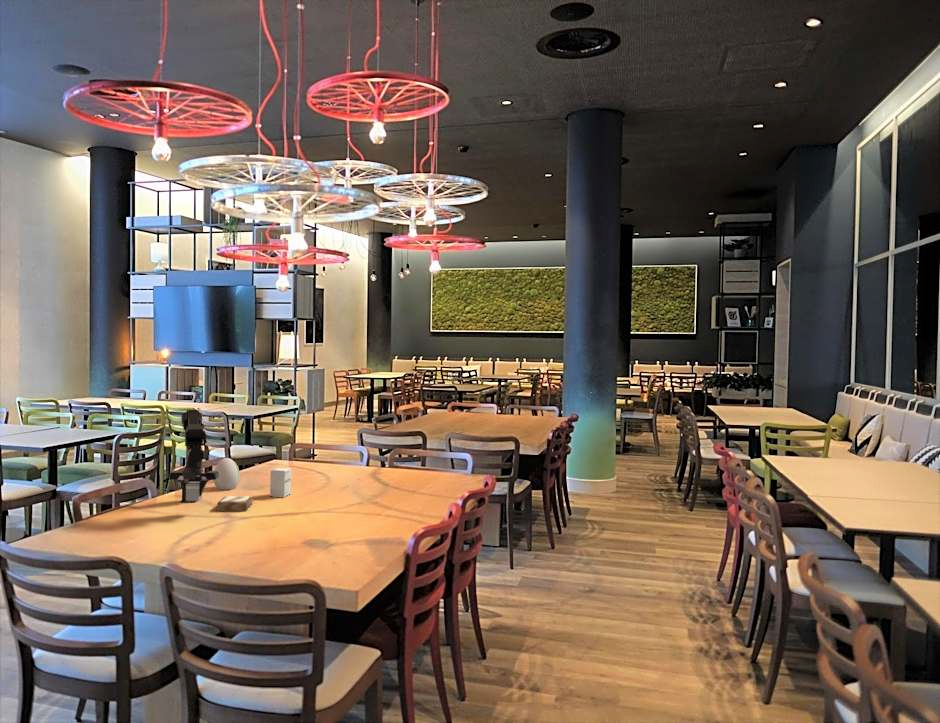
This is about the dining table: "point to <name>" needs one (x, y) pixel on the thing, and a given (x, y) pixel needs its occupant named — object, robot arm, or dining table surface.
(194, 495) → the grey striped cube
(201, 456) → the robot arm
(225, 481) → the decorative egg
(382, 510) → the dining table surface
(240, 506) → the stand
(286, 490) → the supplement box
